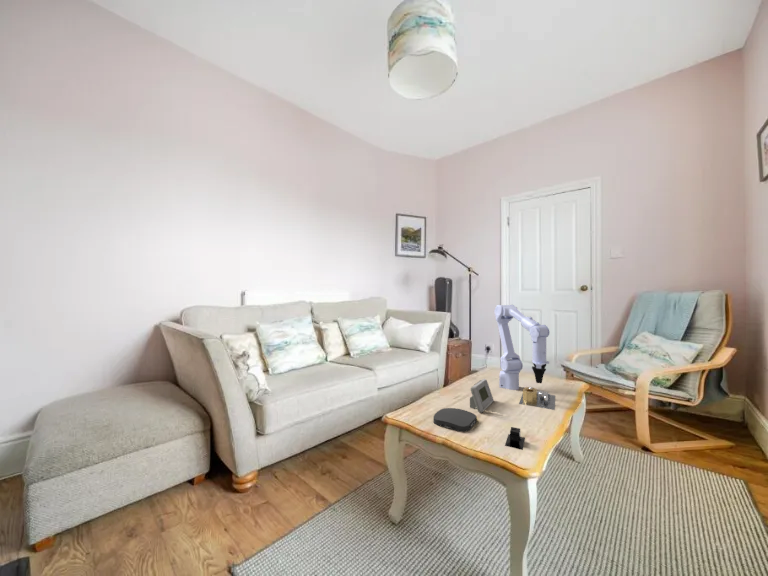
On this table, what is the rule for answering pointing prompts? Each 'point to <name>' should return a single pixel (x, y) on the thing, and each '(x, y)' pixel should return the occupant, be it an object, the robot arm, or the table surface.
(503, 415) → the table surface
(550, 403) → the plate
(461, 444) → the table surface
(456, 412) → the media streaming box
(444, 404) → the table surface
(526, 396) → the brass octagonal sleeve
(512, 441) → the block on black plate
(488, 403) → the digital clock
